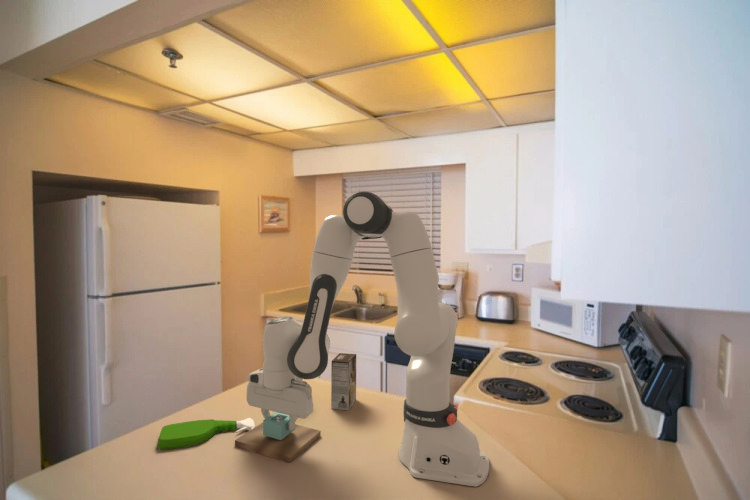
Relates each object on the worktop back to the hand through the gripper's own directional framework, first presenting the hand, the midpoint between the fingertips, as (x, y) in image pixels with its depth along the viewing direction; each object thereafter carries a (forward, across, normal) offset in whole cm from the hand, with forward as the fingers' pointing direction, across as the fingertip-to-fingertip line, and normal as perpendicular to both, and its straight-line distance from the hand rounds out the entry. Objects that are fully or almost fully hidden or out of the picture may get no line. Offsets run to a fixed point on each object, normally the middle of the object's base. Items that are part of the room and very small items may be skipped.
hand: (279, 426), depth 101 cm
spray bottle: (+5, +20, +6) cm, 21 cm away
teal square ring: (+2, 0, 0) cm, 2 cm away
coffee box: (+4, -5, -28) cm, 29 cm away
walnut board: (+4, 0, 0) cm, 4 cm away
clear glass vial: (+3, 0, 0) cm, 3 cm away
